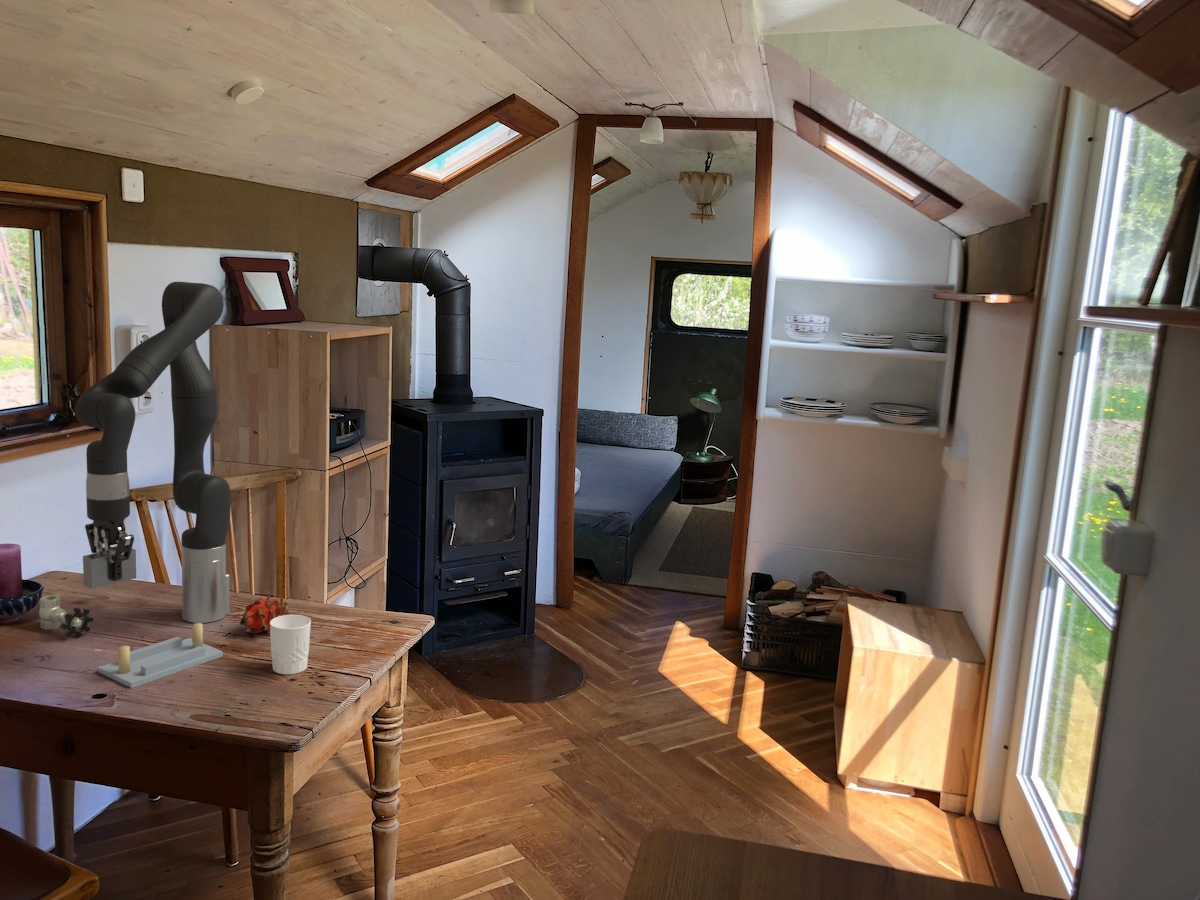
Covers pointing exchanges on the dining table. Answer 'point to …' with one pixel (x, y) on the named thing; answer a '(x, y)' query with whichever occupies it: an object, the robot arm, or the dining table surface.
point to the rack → (160, 659)
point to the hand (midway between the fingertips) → (110, 577)
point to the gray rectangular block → (106, 569)
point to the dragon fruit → (263, 614)
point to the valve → (62, 617)
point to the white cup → (290, 643)
